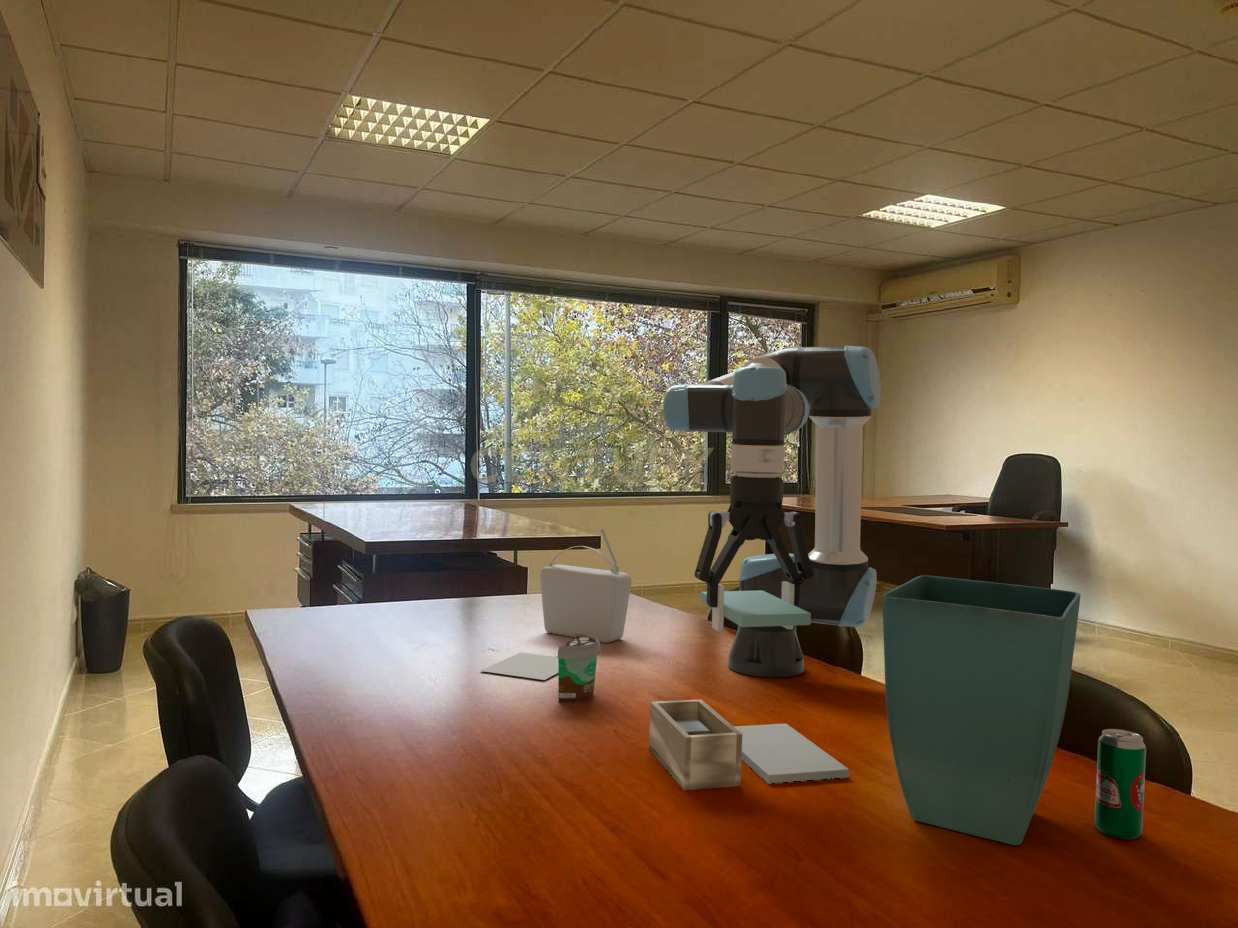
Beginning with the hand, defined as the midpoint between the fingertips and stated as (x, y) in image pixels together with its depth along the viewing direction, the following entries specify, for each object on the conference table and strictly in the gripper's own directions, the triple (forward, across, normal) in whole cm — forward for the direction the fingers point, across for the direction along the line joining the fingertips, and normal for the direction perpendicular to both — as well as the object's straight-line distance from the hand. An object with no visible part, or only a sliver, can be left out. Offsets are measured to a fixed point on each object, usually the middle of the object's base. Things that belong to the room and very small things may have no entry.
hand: (752, 628), depth 130 cm
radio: (+20, -8, +81) cm, 84 cm away
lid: (-2, 0, 0) cm, 2 cm away
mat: (+19, +5, 0) cm, 20 cm away
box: (+19, -9, -2) cm, 21 cm away
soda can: (+19, +35, -31) cm, 51 cm away
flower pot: (+19, +20, -24) cm, 37 cm away
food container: (+19, -18, +34) cm, 43 cm away
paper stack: (+20, -26, +61) cm, 69 cm away
